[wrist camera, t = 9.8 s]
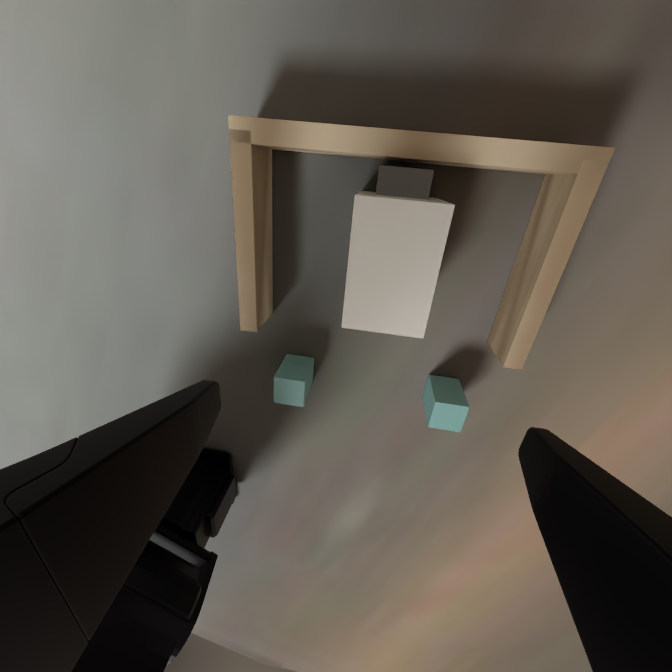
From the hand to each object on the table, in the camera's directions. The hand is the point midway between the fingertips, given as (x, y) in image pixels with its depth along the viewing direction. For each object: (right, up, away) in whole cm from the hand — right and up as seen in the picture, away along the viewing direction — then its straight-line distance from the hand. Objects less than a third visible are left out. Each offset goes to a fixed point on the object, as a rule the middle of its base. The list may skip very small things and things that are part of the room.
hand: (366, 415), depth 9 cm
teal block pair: (+1, -1, +13) cm, 13 cm away
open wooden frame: (+2, +7, +9) cm, 12 cm away
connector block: (+2, +7, +9) cm, 12 cm away
